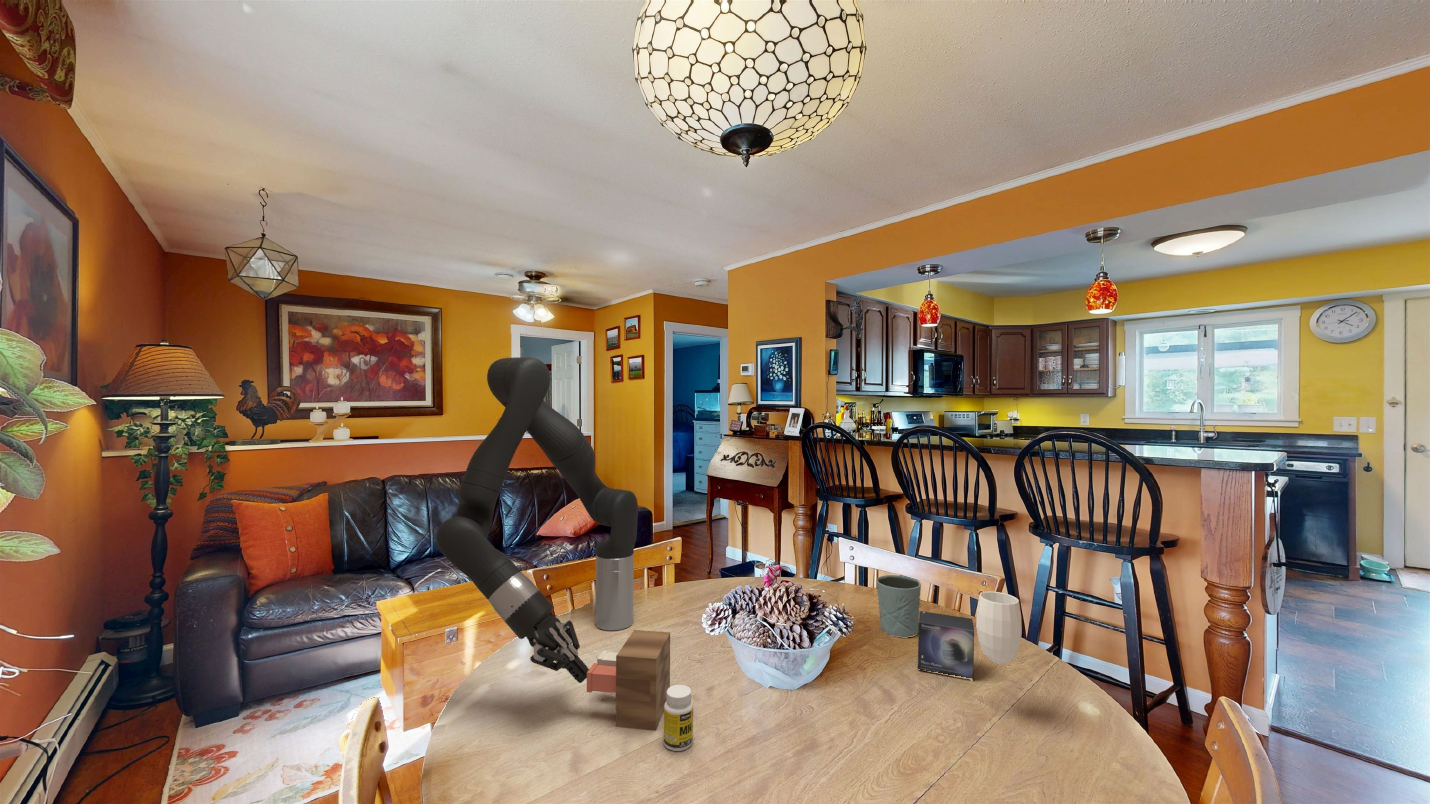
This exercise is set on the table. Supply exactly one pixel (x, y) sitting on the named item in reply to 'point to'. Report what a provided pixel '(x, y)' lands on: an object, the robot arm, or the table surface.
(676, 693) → the supplement bottle
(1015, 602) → the cup
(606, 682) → the red button
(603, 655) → the white block
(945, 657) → the small box
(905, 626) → the green embossed pot
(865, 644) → the table surface
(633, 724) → the walnut box
